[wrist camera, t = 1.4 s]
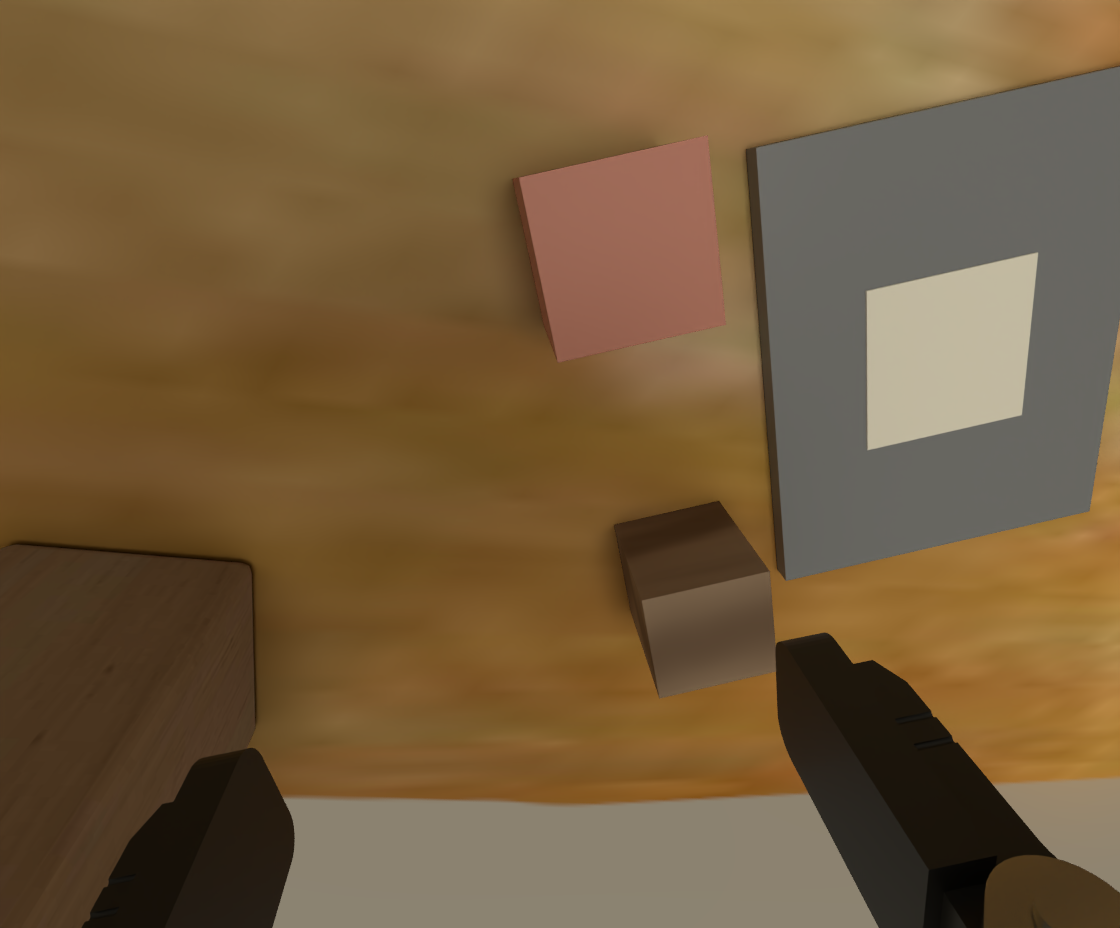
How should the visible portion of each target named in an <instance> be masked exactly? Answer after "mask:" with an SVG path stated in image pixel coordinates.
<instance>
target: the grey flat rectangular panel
mask: <svg viewBox="0 0 1120 928" xmlns="http://www.w3.org/2000/svg"><path fill="white" fill-rule="evenodd" d="M746 154H747V168H748V181H749V194H750V208H751V221H752V235H753V248H754V261H755V275H756V288H757V301H758V315H759V328H760V342H761V355H762V368H763V382H764V395H765V408H766V422H767V435H768V449H769V462H770V475H771V489H772V502H773V515H774V529H775V542H776V556H777V569H778V571H779V572H780V573H781V575H782V576H783V577H784V579H785V580H786V581H787V580H792V579H796V578H800V577H805V576H809V575H813V574H818V573H822V572H826V571H831V570H835V569H839V568H844V567H848V566H853V565H857V564H861V563H866V562H870V561H874V560H879V559H883V558H887V557H892V556H896V555H900V554H905V553H909V552H914V551H918V550H922V549H927V548H931V547H935V546H940V545H944V544H948V543H953V542H957V541H961V540H966V539H970V538H975V537H979V536H983V535H988V534H992V533H996V532H1001V531H1005V530H1009V529H1014V528H1018V527H1022V526H1027V525H1031V524H1036V523H1040V522H1044V521H1049V520H1053V519H1057V518H1062V517H1066V516H1070V515H1075V514H1079V513H1083V512H1088V511H1089V510H1090V504H1091V498H1092V491H1093V485H1094V479H1095V472H1096V466H1097V460H1098V453H1099V447H1100V440H1101V434H1102V428H1103V421H1104V415H1105V409H1106V402H1107V396H1108V389H1109V383H1110V377H1111V370H1112V364H1113V358H1114V351H1115V345H1116V339H1117V332H1118V326H1119V319H1120V66H1116V67H1112V68H1107V69H1103V70H1098V71H1094V72H1089V73H1085V74H1080V75H1076V76H1071V77H1067V78H1063V79H1058V80H1054V81H1049V82H1045V83H1040V84H1036V85H1031V86H1027V87H1022V88H1018V89H1013V90H1009V91H1004V92H1000V93H995V94H991V95H986V96H982V97H978V98H973V99H969V100H964V101H960V102H955V103H951V104H946V105H942V106H937V107H933V108H928V109H924V110H919V111H915V112H910V113H906V114H902V115H897V116H893V117H888V118H884V119H879V120H875V121H870V122H866V123H861V124H857V125H852V126H848V127H843V128H839V129H834V130H830V131H826V132H821V133H817V134H812V135H808V136H803V137H799V138H794V139H790V140H785V141H781V142H776V143H772V144H767V145H763V146H758V147H754V148H750V149H746Z"/></svg>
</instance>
